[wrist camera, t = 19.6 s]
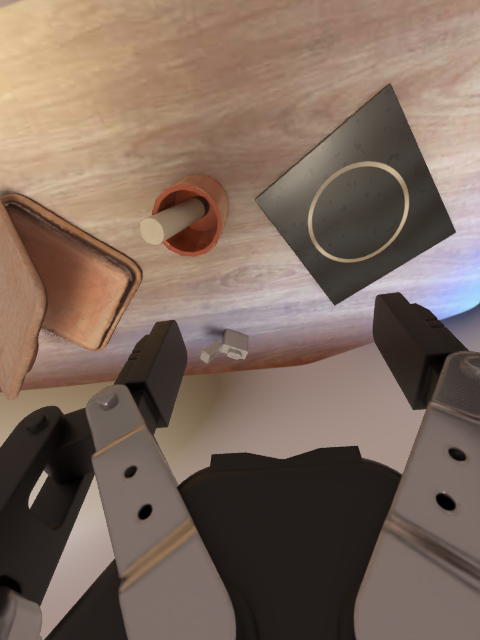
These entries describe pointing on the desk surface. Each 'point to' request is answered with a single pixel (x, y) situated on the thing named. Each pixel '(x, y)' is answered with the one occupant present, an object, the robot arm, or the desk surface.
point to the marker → (173, 220)
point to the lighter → (227, 346)
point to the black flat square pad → (359, 201)
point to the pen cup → (204, 230)
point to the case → (54, 286)
